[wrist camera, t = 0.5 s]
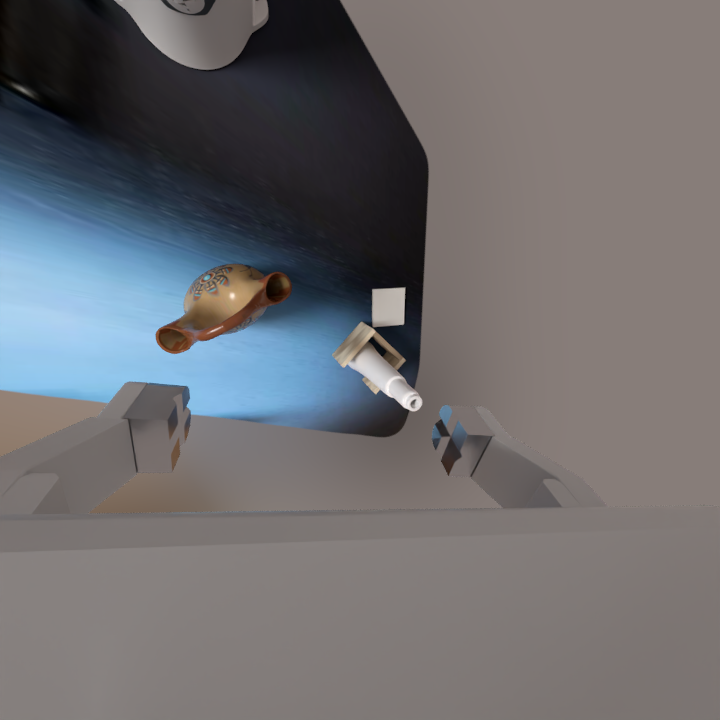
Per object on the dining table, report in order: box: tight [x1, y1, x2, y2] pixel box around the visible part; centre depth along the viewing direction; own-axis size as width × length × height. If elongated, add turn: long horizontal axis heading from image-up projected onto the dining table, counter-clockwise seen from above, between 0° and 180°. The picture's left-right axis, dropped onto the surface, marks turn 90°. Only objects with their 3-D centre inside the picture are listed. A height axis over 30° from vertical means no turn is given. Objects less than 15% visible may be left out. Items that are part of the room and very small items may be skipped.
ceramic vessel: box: [156, 264, 292, 354], centre depth 41 cm, size 16×9×25 cm, turn 114°
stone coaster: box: [372, 287, 405, 327], centre depth 62 cm, size 7×6×1 cm
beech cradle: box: [332, 322, 406, 394], centre depth 60 cm, size 8×9×6 cm
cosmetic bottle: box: [348, 341, 422, 411], centre depth 53 cm, size 6×6×22 cm
